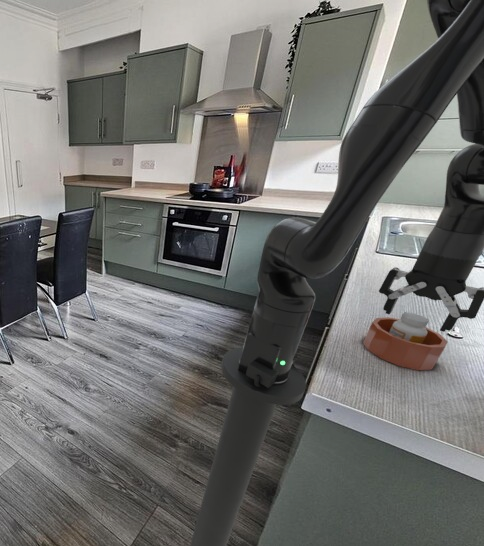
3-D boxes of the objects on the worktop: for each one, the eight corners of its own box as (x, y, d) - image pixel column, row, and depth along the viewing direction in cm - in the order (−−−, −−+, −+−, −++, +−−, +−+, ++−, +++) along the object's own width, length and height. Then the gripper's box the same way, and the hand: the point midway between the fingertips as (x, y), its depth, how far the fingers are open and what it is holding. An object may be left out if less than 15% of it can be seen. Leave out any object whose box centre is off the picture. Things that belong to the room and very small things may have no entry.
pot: (427, 377, 64) (441, 354, 62) (357, 348, 73) (366, 327, 70) (438, 357, 70) (451, 335, 68) (372, 332, 79) (381, 312, 76)
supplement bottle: (413, 353, 71) (433, 317, 68) (413, 363, 68) (434, 326, 64) (382, 343, 75) (399, 308, 71) (380, 352, 72) (398, 316, 68)
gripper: (396, 246, 65) (367, 312, 71) (506, 266, 54) (460, 343, 61) (405, 239, 69) (377, 303, 75) (509, 258, 58) (466, 330, 65)
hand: (414, 321), depth 68 cm, fingers open, 8 cm apart
